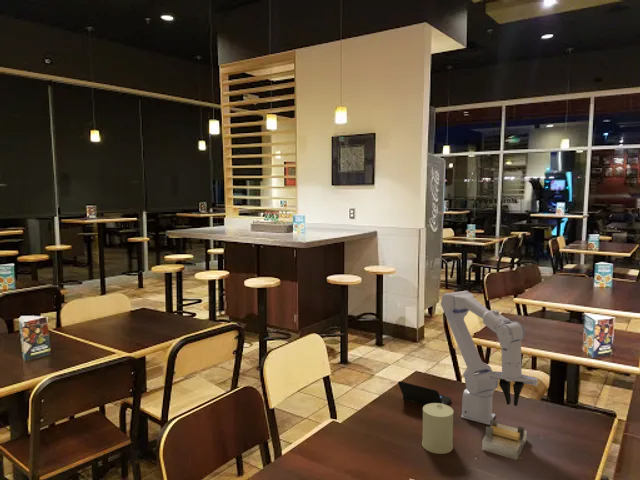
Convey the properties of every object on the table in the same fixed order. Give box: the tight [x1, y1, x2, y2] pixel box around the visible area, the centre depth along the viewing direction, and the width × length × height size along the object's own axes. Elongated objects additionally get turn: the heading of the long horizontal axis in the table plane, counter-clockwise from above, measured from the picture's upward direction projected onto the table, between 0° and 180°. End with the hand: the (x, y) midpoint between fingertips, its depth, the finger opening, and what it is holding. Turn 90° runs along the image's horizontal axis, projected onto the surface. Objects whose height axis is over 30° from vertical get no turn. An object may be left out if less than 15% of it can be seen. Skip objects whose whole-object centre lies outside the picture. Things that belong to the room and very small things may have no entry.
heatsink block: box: [481, 419, 528, 461], centre depth 146 cm, size 10×13×5 cm
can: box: [421, 403, 455, 455], centre depth 146 cm, size 9×9×12 cm
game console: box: [397, 380, 452, 406], centre depth 174 cm, size 16×14×9 cm
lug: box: [517, 425, 526, 437], centre depth 146 cm, size 2×2×2 cm
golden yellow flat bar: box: [491, 426, 520, 441], centre depth 146 cm, size 8×3×1 cm, turn 56°
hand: (512, 404), depth 150 cm, fingers closed
